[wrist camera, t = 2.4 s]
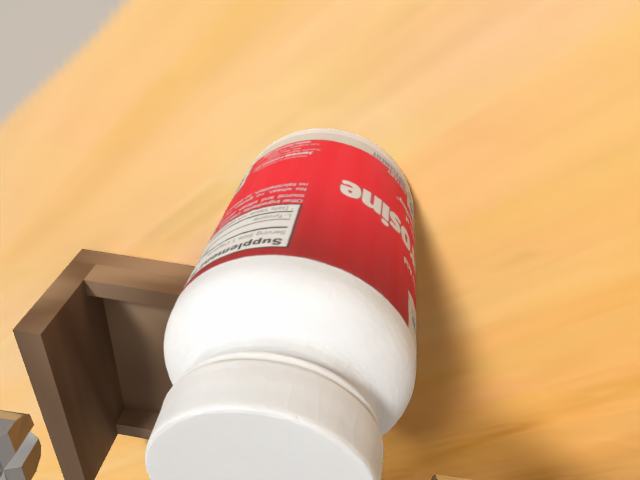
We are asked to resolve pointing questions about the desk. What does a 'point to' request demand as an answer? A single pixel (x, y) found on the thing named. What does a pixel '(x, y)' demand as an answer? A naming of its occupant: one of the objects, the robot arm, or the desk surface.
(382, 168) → the pill bottle
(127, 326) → the cradle
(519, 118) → the desk surface
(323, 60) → the desk surface
